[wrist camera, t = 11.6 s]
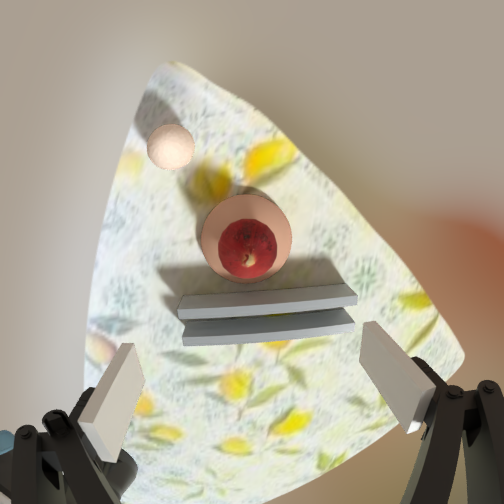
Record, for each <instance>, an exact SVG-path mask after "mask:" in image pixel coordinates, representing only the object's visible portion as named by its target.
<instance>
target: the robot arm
mask: <svg viewBox="0 0 504 504" xmlns="http://www.w3.org/2000/svg"><path fill="white" fill-rule="evenodd" d="M359 362H360V363H361V365H362V366H363V368H364V369H365V371H366V372H367V374H368V375H369V377H370V378H371V380H372V382H373V383H374V385H375V386H376V388H377V389H378V391H379V392H380V394H381V395H382V397H383V398H384V400H385V401H386V403H387V404H388V406H389V407H390V409H391V410H392V412H393V414H394V415H395V417H396V418H397V420H398V421H399V423H400V424H401V426H402V427H403V429H404V431H405V432H406V434H408V433H411V432H414V431H416V430H419V429H420V428H421V425H422V423H423V421H424V422H425V423H426V425H427V427H426V429H425V432H424V434H423V436H422V438H421V440H422V443H421V447H420V450H419V453H418V457H417V460H416V463H415V466H414V469H413V472H412V474H411V477H410V480H409V482H408V485H407V488H406V490H405V493H404V495H403V498H402V500H401V502H400V504H447V503H448V499H449V496H450V492H451V488H452V484H453V480H454V475H455V471H456V466H457V461H458V456H459V450H460V444H461V437H462V440H463V448H464V457H465V466H466V478H467V495H468V504H504V397H503V395H502V392H501V389H500V387H499V385H498V384H497V383H496V382H494V381H490V380H484V381H481V382H480V383H479V385H478V387H477V389H476V390H471V391H464V390H463V389H462V388H460V387H458V386H455V385H449V386H448V385H447V384H446V383H445V382H444V381H443V380H442V379H441V377H440V376H439V375H438V374H437V373H436V372H435V371H433V369H432V368H431V367H429V365H428V364H427V363H426V362H425V361H424V360H422V359H420V358H418V357H416V356H415V357H412V358H410V357H409V356H408V355H407V354H406V353H405V352H404V351H403V350H402V349H401V347H400V346H399V345H398V344H397V343H396V342H395V341H394V340H393V339H392V338H391V337H390V336H389V335H388V334H387V333H386V332H385V331H384V330H383V328H382V327H381V326H380V325H379V324H378V323H377V322H376V321H371V322H365V323H363V333H362V342H361V350H360V358H359ZM144 383H145V378H144V375H143V372H142V369H141V365H140V362H139V359H138V355H137V352H136V348H135V345H134V343H122V344H121V346H120V348H119V349H118V351H117V353H116V354H115V356H114V358H113V359H112V361H111V363H110V364H109V366H108V368H107V369H106V371H105V373H104V374H103V376H102V378H101V380H100V381H99V383H98V385H97V387H96V388H93V387H89V388H88V389H87V390H86V391H84V392H83V393H82V395H81V397H80V398H79V401H78V402H77V404H76V406H75V407H74V409H73V410H72V412H71V414H70V415H69V417H68V416H67V414H66V413H65V412H64V411H62V410H57V409H56V410H52V411H50V412H48V413H46V414H45V415H44V417H43V419H42V424H43V425H44V427H45V429H46V430H47V432H42V433H38V431H37V430H36V428H35V427H34V426H32V425H24V426H22V427H20V428H19V429H18V430H17V431H16V433H15V436H14V435H13V434H12V433H11V432H9V431H7V430H2V431H0V504H121V502H120V499H121V496H122V494H123V493H124V492H125V491H126V490H127V488H128V487H129V486H130V485H131V483H132V482H133V481H134V480H135V478H136V474H137V470H138V467H137V464H136V463H135V461H134V460H133V459H132V457H131V456H129V455H128V454H127V453H126V452H125V451H123V450H122V449H121V447H122V444H123V441H124V438H125V435H126V433H127V430H128V427H129V424H130V421H131V418H132V416H133V413H134V410H135V407H136V405H137V402H138V399H139V397H140V394H141V391H142V389H143V386H144ZM62 471H63V473H64V475H63V473H62Z"/></svg>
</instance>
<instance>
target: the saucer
mask: <svg viewBox="0 0 504 504" xmlns="http://www.w3.org/2000/svg"><path fill="white" fill-rule="evenodd" d="M240 219H256V220H258V221H260V222H262V223H264V224H266V225H267V226H268V227H269V228H270V229H271V231H272V232H273V233H274V235H275V238H276V242H277V257H276V259H275V262H274V264H273V266H272V267H271V268H270V269H269V270H268V271H267V272H266V273H264V274H263V275H261V276H258V277H255V278H239V277H236V276H234V275H231V274H230V273H229V272H228V271H227V270H226V269H224V268H223V266H222V264H221V261H220V259H219V256H218V242H219V239H220V237H221V234H222V232H223V231H224V230H225V229H226V228H227V226H228V225H229V224H230V223H233V222H235V221H237V220H240ZM291 244H292V234H291V228H290V225H289V222H288V220H287V218H286V216H285V215H284V213H283V212H282V211H281V210H280V209H279V207H278V206H276V205H275V204H274V203H272V202H271V201H269V200H268V199H265V198H263V197H261V196H257V195H251V194H242V195H236V196H232V197H230V198H227V199H225V200H224V201H222V202H221V203H219V204H218V205H217V206H216V207H215V208H214V209H213V210H212V211H211V212H210V214H209V215H208V217H207V219H206V220H205V223H204V225H203V229H202V234H201V245H202V250H203V254H204V256H205V258H206V261H207V262H208V264H209V265H210V266H211V268H212V269H213V270H214V271H215V272H216V273H217V274H219V275H220V276H222V277H223V278H225V279H227V280H230V281H232V282H236V283H243V284H249V283H256V282H260V281H263V280H265V279H267V278H269V277H271V276H272V275H274V274H275V273H276V272H277V271H278V270H279V269H280V268H281V267H282V266H283V265H284V263H285V261H286V260H287V258H288V255H289V253H290V250H291Z"/></svg>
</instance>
